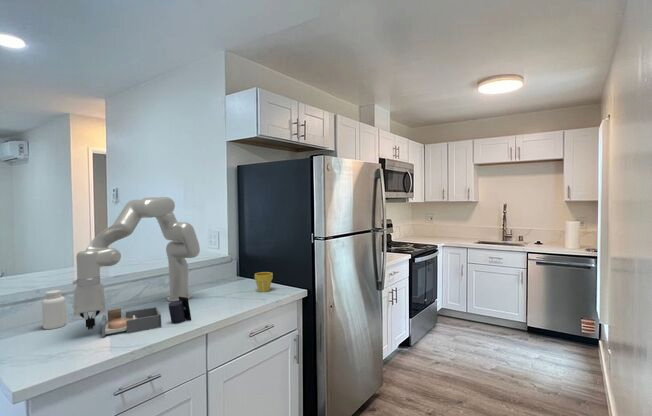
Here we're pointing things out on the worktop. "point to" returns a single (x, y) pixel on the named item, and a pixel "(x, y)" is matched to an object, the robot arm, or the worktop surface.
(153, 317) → the housing
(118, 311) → the brown wooden cube
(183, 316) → the speaker
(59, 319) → the pill bottle
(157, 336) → the worktop surface
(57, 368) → the worktop surface
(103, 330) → the tray
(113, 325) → the tan domed disc
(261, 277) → the plant pot
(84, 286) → the robot arm
